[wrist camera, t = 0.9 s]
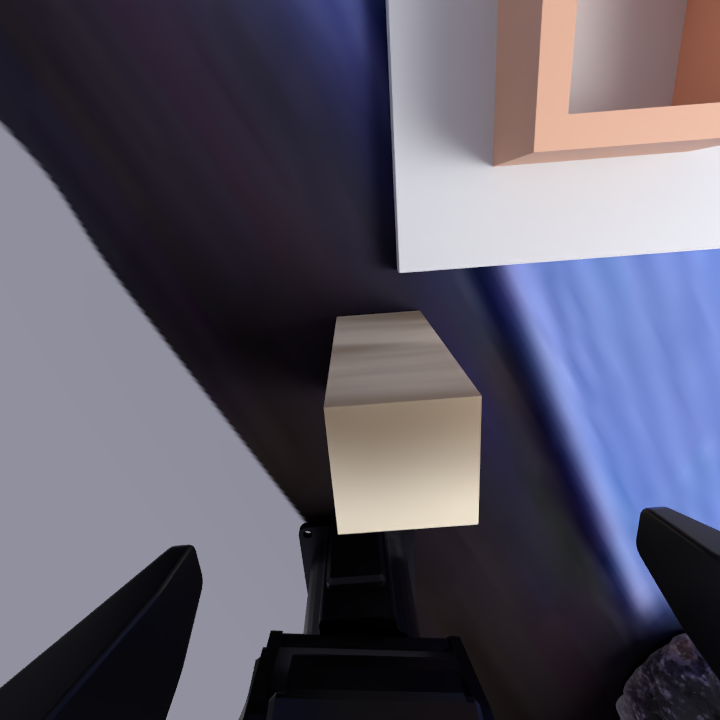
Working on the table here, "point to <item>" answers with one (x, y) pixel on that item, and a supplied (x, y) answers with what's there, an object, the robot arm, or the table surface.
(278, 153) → the table surface
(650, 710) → the crystal cluster
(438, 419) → the birch peg
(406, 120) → the socket stand
